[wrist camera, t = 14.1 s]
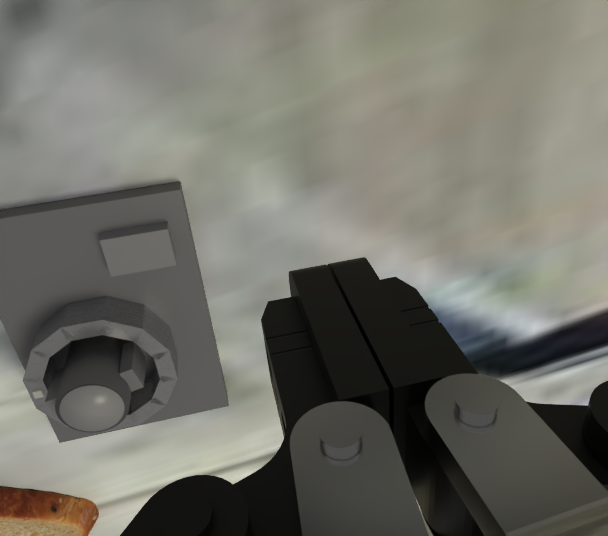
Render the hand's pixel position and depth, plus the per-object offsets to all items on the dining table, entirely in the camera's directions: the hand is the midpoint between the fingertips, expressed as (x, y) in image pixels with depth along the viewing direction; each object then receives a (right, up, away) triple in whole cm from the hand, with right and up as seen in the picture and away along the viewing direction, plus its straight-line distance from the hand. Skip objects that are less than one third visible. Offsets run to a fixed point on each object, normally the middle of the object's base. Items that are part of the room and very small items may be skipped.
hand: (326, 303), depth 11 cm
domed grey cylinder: (-16, -6, +30) cm, 34 cm away
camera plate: (-15, -3, +30) cm, 34 cm away
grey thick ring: (-15, -6, +30) cm, 34 cm away
